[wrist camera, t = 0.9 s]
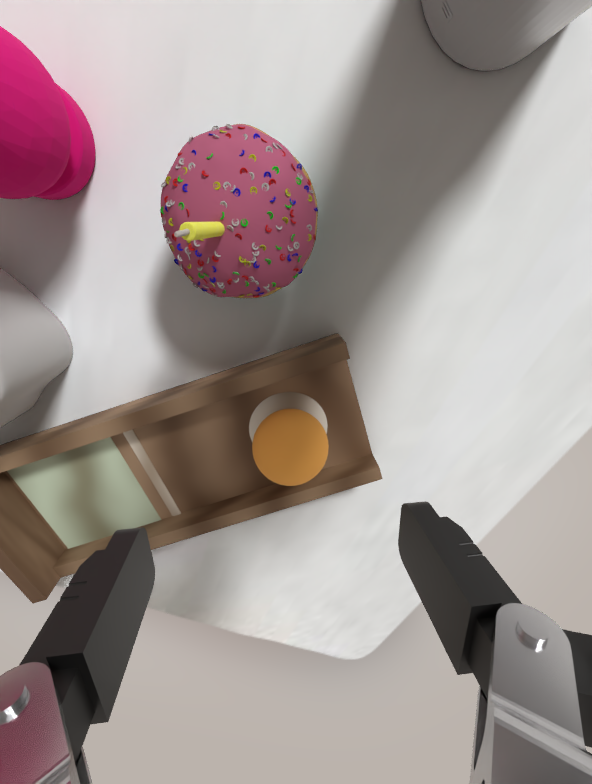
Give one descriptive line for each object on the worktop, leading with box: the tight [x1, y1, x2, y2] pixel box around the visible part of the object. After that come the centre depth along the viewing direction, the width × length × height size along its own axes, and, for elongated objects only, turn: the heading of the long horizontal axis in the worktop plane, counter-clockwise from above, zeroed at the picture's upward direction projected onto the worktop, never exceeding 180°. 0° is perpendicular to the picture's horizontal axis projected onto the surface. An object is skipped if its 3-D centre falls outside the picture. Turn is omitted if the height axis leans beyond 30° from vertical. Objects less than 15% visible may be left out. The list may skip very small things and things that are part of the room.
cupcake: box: [161, 124, 318, 298], centre depth 17 cm, size 9×8×12 cm
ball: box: [252, 409, 329, 486], centre depth 25 cm, size 6×6×6 cm
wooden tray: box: [0, 333, 382, 603], centre depth 27 cm, size 30×12×5 cm, turn 108°
